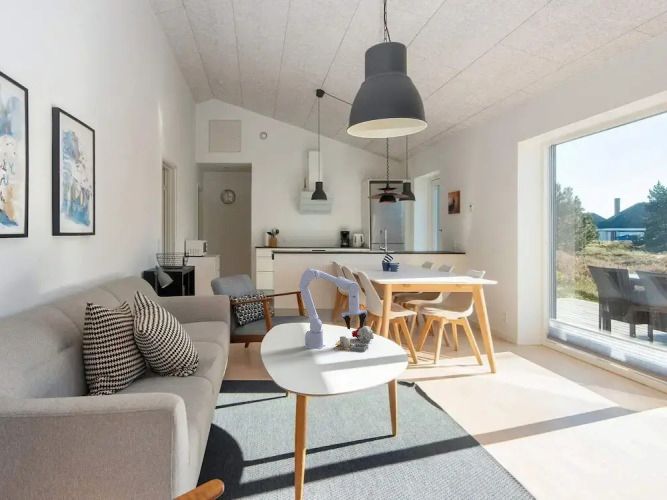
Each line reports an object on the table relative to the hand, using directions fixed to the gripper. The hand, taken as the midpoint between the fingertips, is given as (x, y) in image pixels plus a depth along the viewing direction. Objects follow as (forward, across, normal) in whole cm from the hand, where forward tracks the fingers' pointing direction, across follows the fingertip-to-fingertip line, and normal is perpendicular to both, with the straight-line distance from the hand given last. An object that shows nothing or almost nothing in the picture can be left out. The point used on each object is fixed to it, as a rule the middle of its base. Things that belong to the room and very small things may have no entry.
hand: (355, 328), depth 237 cm
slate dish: (+11, -1, -7) cm, 13 cm away
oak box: (+10, -7, -1) cm, 13 cm away
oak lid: (+10, -3, +9) cm, 14 cm away
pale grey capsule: (+10, -7, -3) cm, 13 cm away
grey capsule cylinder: (+10, -7, +2) cm, 12 cm away
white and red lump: (+11, +10, +10) cm, 18 cm away
